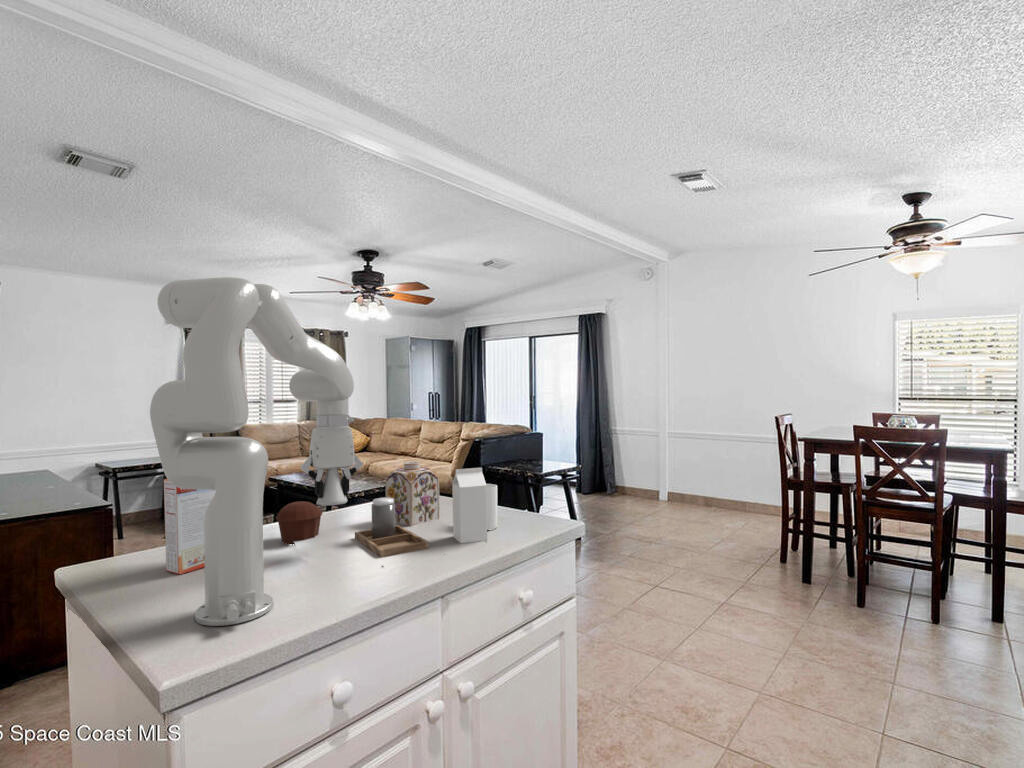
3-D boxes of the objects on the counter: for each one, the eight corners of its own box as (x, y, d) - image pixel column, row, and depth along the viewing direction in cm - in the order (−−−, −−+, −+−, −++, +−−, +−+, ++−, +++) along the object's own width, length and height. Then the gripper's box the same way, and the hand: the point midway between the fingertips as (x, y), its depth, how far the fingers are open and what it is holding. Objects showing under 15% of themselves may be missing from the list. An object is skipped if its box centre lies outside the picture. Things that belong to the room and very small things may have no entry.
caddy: (428, 552, 132) (428, 541, 132) (381, 561, 125) (381, 550, 125) (398, 534, 149) (398, 525, 149) (354, 541, 142) (354, 532, 142)
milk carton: (487, 543, 138) (486, 469, 138) (460, 547, 136) (459, 471, 136) (478, 536, 145) (477, 465, 145) (453, 540, 142) (452, 467, 142)
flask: (338, 506, 129) (338, 464, 130) (310, 506, 130) (310, 464, 131) (352, 501, 136) (353, 461, 137) (326, 501, 138) (326, 461, 138)
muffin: (329, 534, 150) (328, 498, 150) (313, 545, 139) (313, 506, 139) (286, 534, 151) (286, 498, 151) (267, 546, 139) (267, 507, 140)
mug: (503, 528, 154) (502, 485, 154) (485, 532, 149) (484, 489, 149) (479, 522, 161) (479, 481, 161) (462, 526, 156) (461, 484, 156)
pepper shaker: (399, 539, 140) (398, 499, 140) (376, 543, 137) (375, 503, 137) (390, 534, 145) (390, 496, 145) (368, 538, 142) (368, 499, 142)
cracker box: (224, 554, 133) (223, 469, 133) (239, 557, 130) (238, 470, 130) (163, 571, 121) (162, 477, 121) (178, 575, 118) (177, 479, 118)
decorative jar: (411, 530, 153) (410, 466, 153) (384, 524, 160) (383, 463, 160) (441, 521, 163) (440, 461, 163) (414, 516, 170) (413, 458, 170)
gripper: (362, 421, 142) (361, 491, 141) (293, 422, 133) (292, 497, 132) (371, 421, 136) (371, 494, 135) (299, 423, 126) (299, 501, 126)
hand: (332, 495), depth 133 cm, fingers closed on flask, 5 cm apart
